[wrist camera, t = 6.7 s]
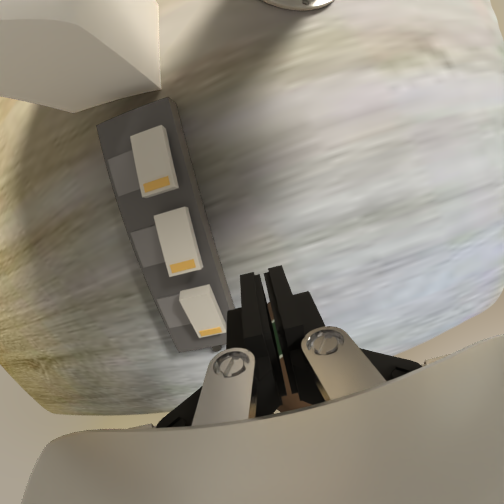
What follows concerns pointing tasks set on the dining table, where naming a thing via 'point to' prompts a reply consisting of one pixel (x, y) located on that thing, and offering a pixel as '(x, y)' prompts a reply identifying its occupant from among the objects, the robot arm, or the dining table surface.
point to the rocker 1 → (153, 162)
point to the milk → (78, 51)
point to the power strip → (144, 209)
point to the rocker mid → (178, 241)
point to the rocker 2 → (203, 311)
